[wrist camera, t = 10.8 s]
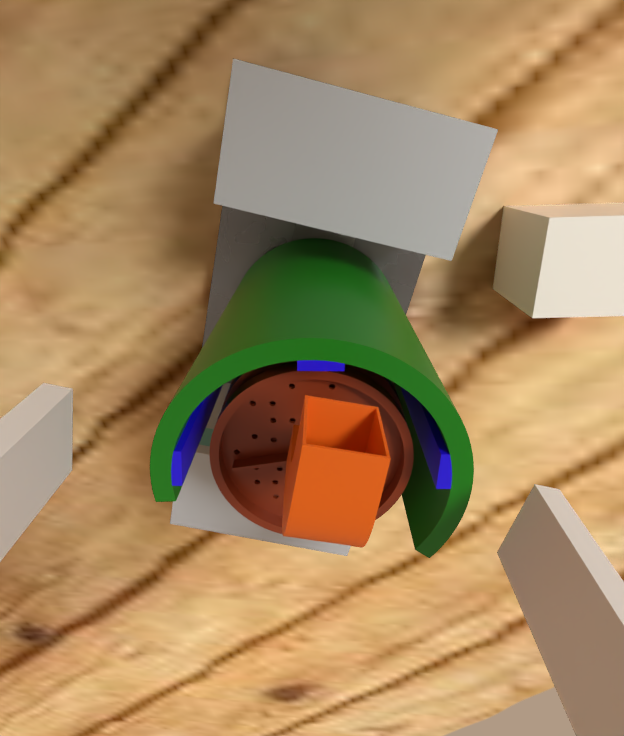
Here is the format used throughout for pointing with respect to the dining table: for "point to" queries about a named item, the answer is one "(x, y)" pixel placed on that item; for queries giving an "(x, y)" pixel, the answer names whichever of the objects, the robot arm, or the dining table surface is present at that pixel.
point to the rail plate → (262, 234)
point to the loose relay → (562, 259)
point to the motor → (320, 406)
